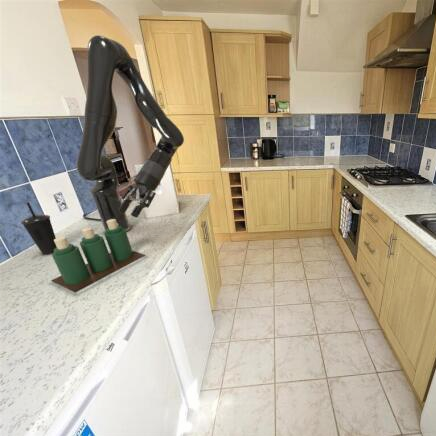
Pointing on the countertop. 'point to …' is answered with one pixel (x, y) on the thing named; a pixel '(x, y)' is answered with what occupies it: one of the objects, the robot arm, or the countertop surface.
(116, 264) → the serving board
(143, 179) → the robot arm
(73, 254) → the near bottle
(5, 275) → the countertop surface
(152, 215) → the white tall block
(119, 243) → the green bottle
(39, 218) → the drinking cup
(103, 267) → the middle bottle
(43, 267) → the countertop surface
